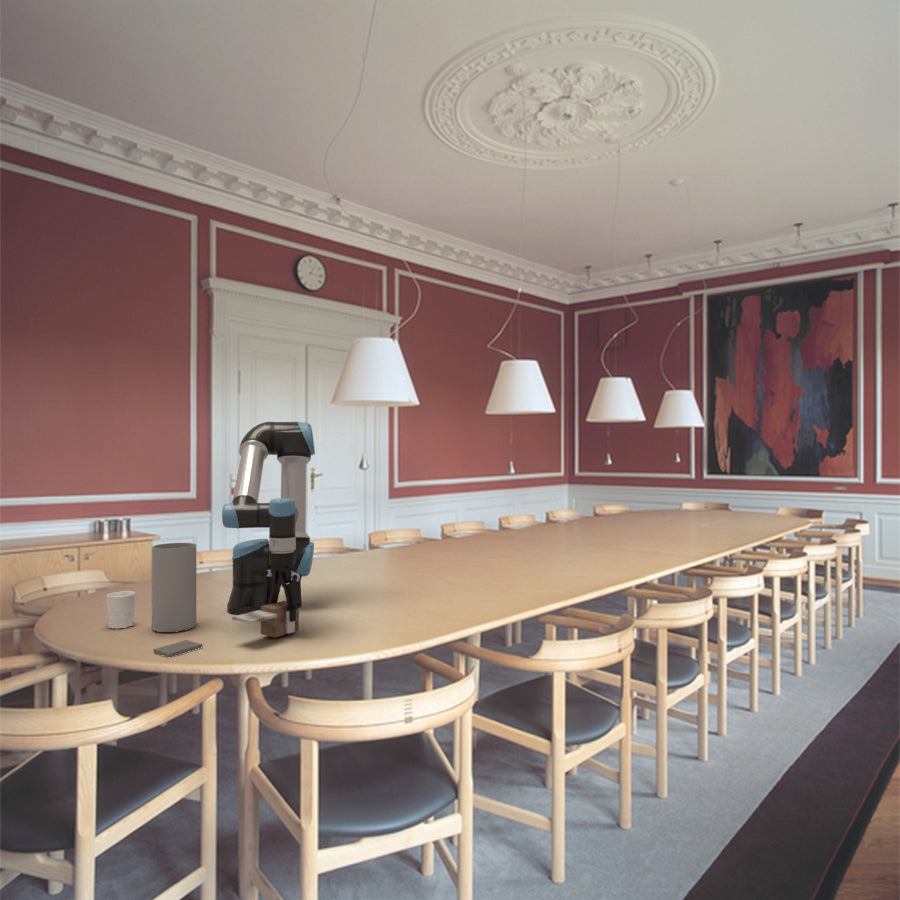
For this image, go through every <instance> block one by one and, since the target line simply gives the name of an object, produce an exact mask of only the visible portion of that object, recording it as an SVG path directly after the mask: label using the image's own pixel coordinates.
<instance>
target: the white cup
mask: <svg viewBox="0 0 900 900" xmlns="http://www.w3.org/2000/svg"><path fill="white" fill-rule="evenodd" d="M106 605H107V606H106V608H107V611H106V612H107V619H108V628H109V627H110V628H124V627H128V626H131V625H133V626H134V618H135V608H136V592H135V591H133V590H132V591H129V590H123V591H115V592H110V593H108V594H106ZM110 628H109V629H110ZM124 629H125V628H124Z"/></svg>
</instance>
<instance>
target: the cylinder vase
mask: <svg viewBox="0 0 900 900" xmlns="http://www.w3.org/2000/svg"><path fill="white" fill-rule="evenodd" d="M196 626H197V544H196V543H194V542H169V543H160V544H155V545H153V546H151V629H152V631H154V632H155V631H158V632H157V633H159V632H175V633H177V632H176V631H182V632H184V631H183V630H186V631H188V630H187V629H189V630H192V629H194V628H195V627H196ZM191 628H192V629H191Z"/></svg>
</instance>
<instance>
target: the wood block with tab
mask: <svg viewBox="0 0 900 900" xmlns="http://www.w3.org/2000/svg"><path fill="white" fill-rule="evenodd" d="M287 609H288V606H287V601H286V600H280V601H277V603H273V604H269V605H265V606H261V611H260V610H257V611H253V612H249V613H245V614H237V615H235V616H234V615H233V616H232V620H233V621H238V622H241V623H247V624H251V625H253V624H256V623H260V635H262V636H265V637H266V636H267V637H270V638H278V637H281V636H285V635H287V634H289V633H286V611H287ZM299 612H300V608H298V609H296V621H295V631H294V632H291V633H295V632H298V631H299V628H300V627H299V626H300V621H299V620H300V615H299V614H300V613H299ZM291 633H290V634H291Z"/></svg>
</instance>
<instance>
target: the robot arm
mask: <svg viewBox="0 0 900 900" xmlns="http://www.w3.org/2000/svg"><path fill="white" fill-rule="evenodd" d="M315 451H316V450H315V441H314V433H313V427H312V424H310V423H309V422H301V421H265V422H261V423H259V424H257V425H255V426H253V427H252V428H251V429H249V431H248V432H247V433H245V435H244V436H243V438H242V439H241V442H240V444H239V449H238V454H239V456H240V459H239V464H238V470H237V475H236V480H235V485H234V490H233V494H232V495H233V496H232V501H231V502H229V503H224V504H223V506H222V511H221V519H222V520H221V521H222V525H223V527H224V528H227V529H250V528H252V529H253V528H254V529H255V528H265V529H267V528H269V535H268V537H269V538H257V539H251V540H245V541H241V542H239V543H236V544H235V545H234V546H233V548H232V557H231V559H232V589H231V591H230V595H229V599H228V602H227V604H226V606H227V607H226V611H227V612H228V613H229V614H232V613H233V614H234V615H241V614H245V613H249V612H253V611H257V610H260V611H261V606H265V605H269V604H273V603H277V602H279V601H278V600H279V596H280V592H281V588H283V592H284V596H285V601H287V606H288V609H287V611H286V633H288V634H291V632H292V633H295V632H296V631H295V621H296V609H298V608H299V609H301V608H302V605H303V604H302V585H301V582H302V577H307V576H309V575H310V573H311V571H312V570H311V569H312V565H313V558H314V549H315V543H314V542H313V541H311V537H310V535H309V534H308V533H307V532H306V529H307V528H306V527H307V526H306V523H307V520H306V518H307V517H306V515H307V512H306V511H307V465H308V463H309V462H310V461H311V460H312V456H314V455H315V454H316V452H315ZM270 455H272V456H276V460H277V461H278V463H279V464H280V470H281V471H280V473H281V474H280V497H279V498H272V499H270V500H269V502H259V496H260V489H261V482H262V475H263V469H264V463H265V460H266V459H267V458H268V456H270ZM233 614H232V615H233ZM294 631H295V632H294Z"/></svg>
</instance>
